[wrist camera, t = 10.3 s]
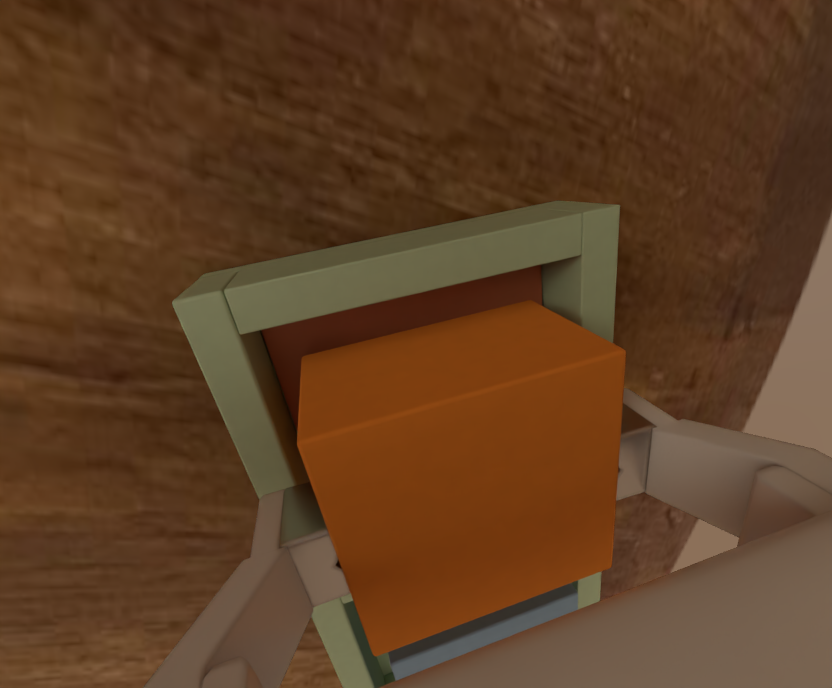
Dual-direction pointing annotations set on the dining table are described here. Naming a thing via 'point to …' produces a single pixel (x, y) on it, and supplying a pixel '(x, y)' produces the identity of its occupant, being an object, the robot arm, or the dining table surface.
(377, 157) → the dining table surface
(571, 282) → the frame
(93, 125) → the dining table surface
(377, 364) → the orange square block
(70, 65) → the dining table surface
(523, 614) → the blue gray block
